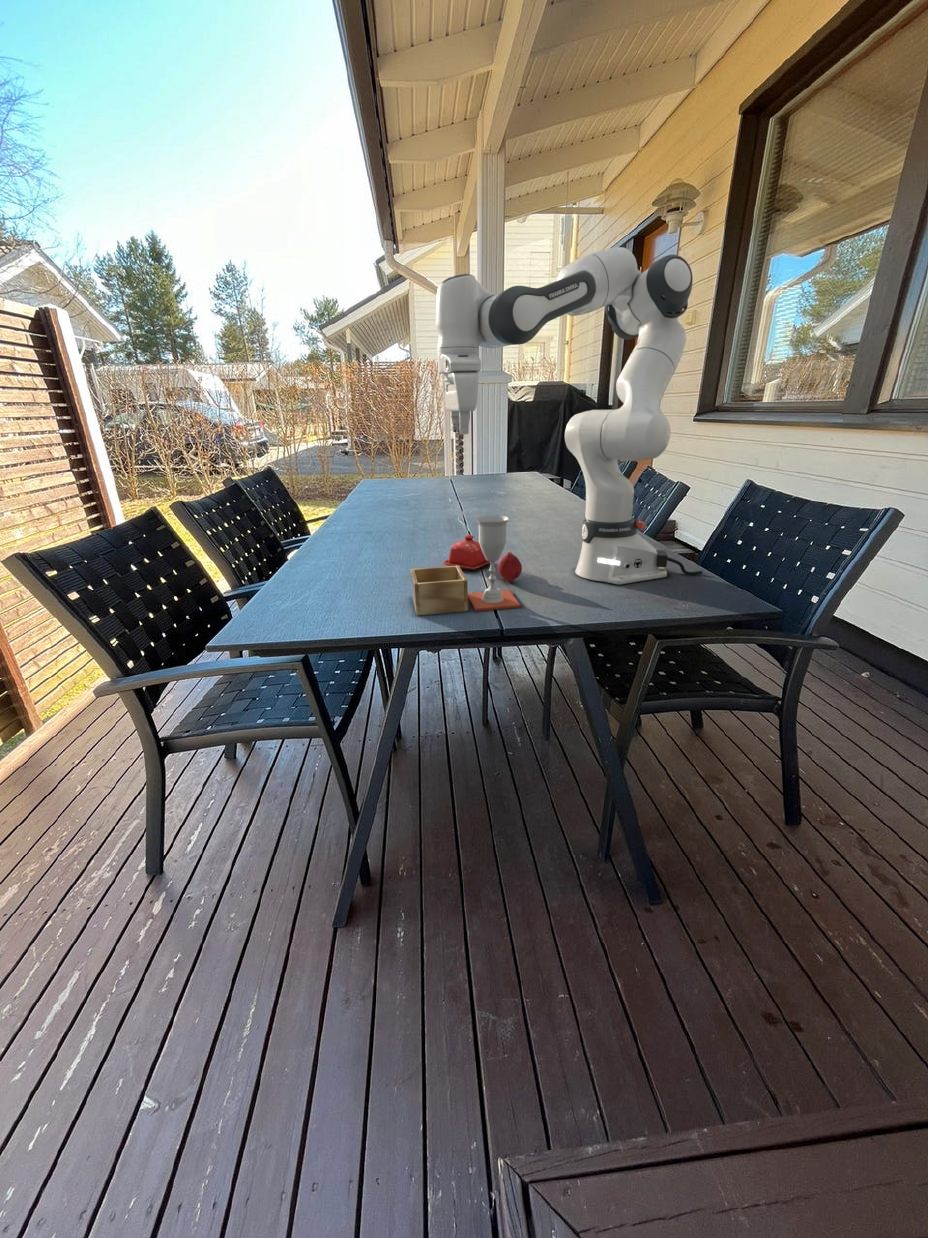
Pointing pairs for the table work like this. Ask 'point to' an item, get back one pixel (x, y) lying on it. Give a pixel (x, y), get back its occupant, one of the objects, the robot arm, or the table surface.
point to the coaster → (481, 605)
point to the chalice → (492, 550)
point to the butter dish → (466, 554)
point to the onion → (509, 567)
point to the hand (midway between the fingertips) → (460, 433)
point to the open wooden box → (439, 590)
